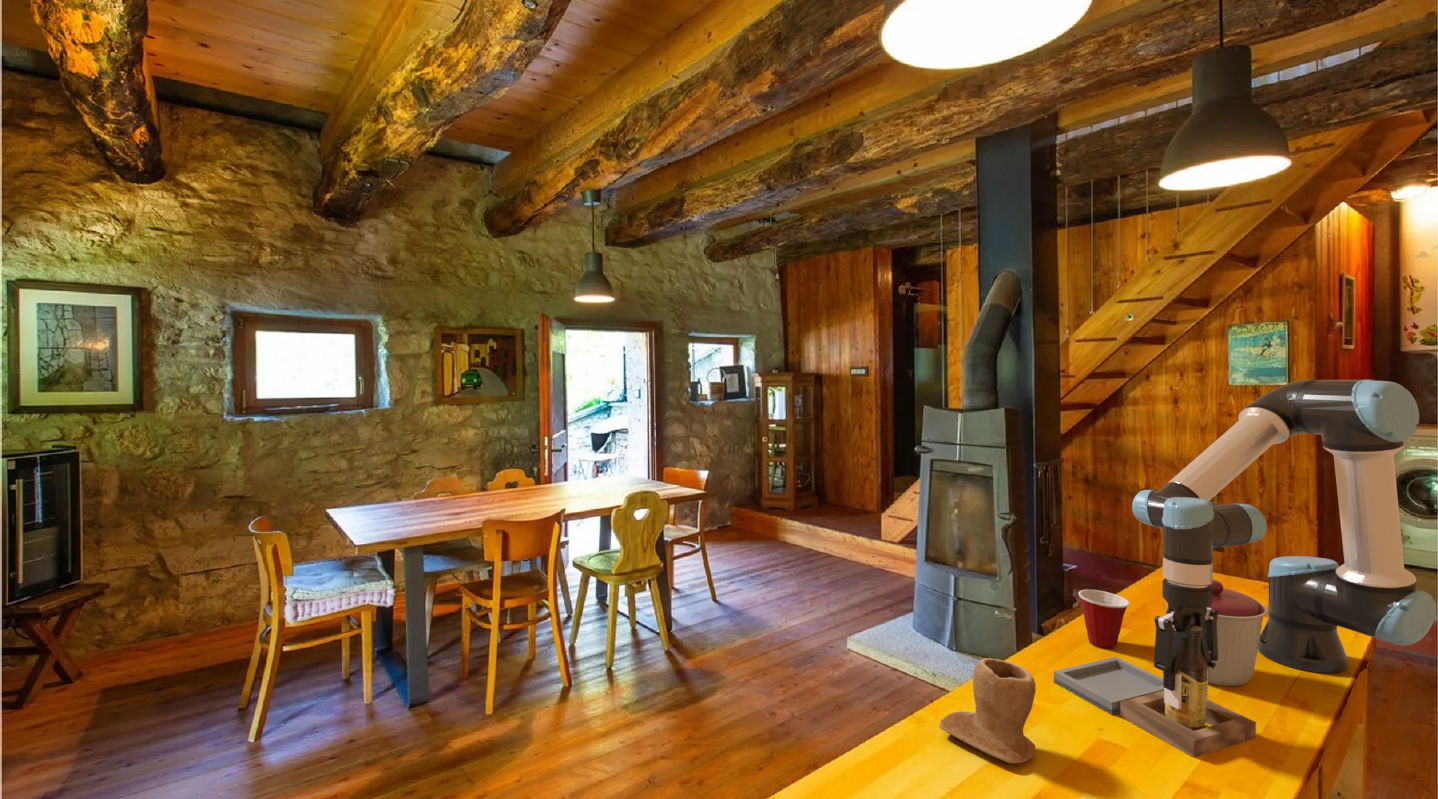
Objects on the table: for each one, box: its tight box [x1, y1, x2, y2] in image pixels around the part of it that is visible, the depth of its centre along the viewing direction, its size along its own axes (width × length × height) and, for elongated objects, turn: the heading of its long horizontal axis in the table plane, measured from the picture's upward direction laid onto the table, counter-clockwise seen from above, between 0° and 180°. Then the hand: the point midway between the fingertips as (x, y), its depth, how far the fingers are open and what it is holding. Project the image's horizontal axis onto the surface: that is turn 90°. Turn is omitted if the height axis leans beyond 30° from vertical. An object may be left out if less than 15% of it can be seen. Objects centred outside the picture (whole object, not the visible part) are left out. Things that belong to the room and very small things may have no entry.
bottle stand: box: [1119, 691, 1257, 758], centre depth 121 cm, size 16×14×3 cm
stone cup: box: [938, 657, 1037, 764], centre depth 117 cm, size 15×12×15 cm
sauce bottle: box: [1164, 626, 1208, 731], centre depth 120 cm, size 7×6×20 cm
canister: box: [1165, 579, 1268, 687], centre depth 140 cm, size 18×18×21 cm
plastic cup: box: [1078, 589, 1130, 650], centre depth 156 cm, size 11×11×12 cm
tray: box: [1053, 656, 1164, 716], centre depth 135 cm, size 18×14×2 cm
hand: (1185, 701), depth 121 cm, fingers closed on sauce bottle, 6 cm apart
